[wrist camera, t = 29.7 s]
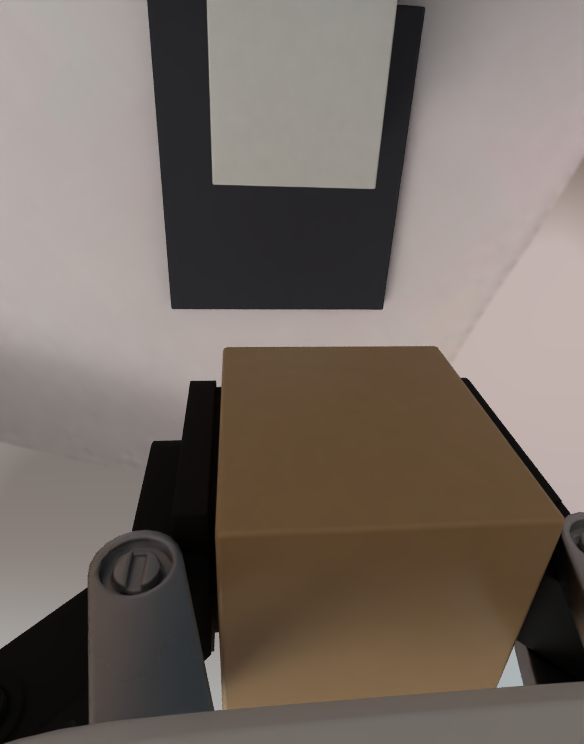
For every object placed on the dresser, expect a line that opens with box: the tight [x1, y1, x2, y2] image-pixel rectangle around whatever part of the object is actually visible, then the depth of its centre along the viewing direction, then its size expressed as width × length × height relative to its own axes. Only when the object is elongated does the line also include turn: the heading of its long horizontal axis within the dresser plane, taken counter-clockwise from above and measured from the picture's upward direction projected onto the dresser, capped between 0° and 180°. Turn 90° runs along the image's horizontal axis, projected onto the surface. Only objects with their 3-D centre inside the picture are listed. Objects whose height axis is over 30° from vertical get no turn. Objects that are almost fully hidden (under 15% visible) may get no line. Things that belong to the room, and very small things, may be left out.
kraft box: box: [215, 346, 565, 710], centre depth 10 cm, size 4×4×5 cm
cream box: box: [207, 0, 398, 189], centre depth 18 cm, size 6×6×4 cm
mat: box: [147, 0, 425, 310], centre depth 22 cm, size 12×10×1 cm
